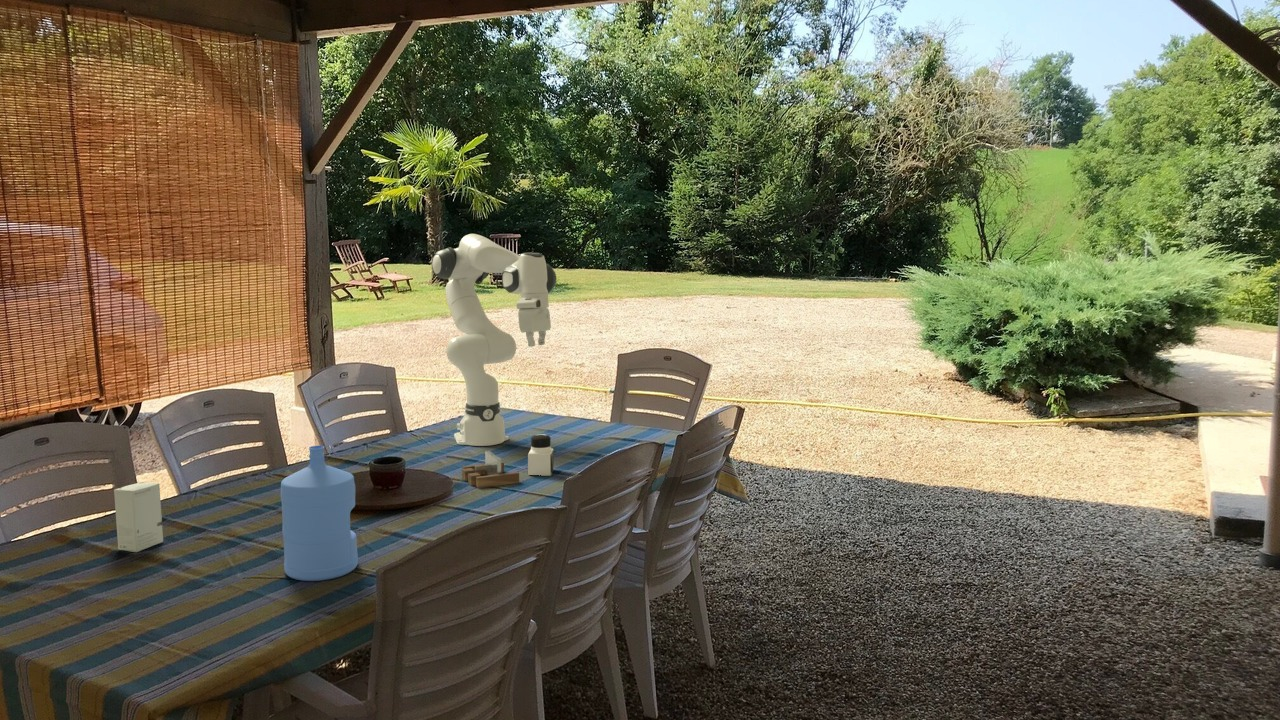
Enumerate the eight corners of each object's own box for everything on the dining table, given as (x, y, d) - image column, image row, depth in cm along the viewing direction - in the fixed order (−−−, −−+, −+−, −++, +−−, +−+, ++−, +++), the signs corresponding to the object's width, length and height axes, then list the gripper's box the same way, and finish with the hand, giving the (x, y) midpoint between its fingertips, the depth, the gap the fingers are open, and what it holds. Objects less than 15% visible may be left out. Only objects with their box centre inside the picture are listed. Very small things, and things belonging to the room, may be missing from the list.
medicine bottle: (551, 476, 282) (550, 438, 281) (528, 475, 283) (527, 438, 281) (553, 470, 289) (553, 433, 288) (531, 469, 290) (530, 432, 288)
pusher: (469, 474, 281) (469, 452, 280) (489, 472, 284) (488, 450, 283) (481, 484, 271) (481, 461, 270) (501, 481, 274) (501, 458, 273)
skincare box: (136, 553, 214) (132, 491, 212) (116, 550, 215) (111, 489, 213) (165, 541, 222) (160, 482, 219) (145, 538, 223) (141, 480, 221)
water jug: (316, 588, 194) (310, 459, 190) (269, 572, 202) (262, 449, 198) (373, 565, 207) (368, 445, 203) (326, 552, 215) (321, 436, 211)
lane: (459, 476, 281) (459, 466, 281) (502, 470, 288) (502, 461, 288) (474, 488, 268) (474, 478, 268) (519, 482, 275) (519, 473, 274)
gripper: (536, 303, 304) (538, 344, 305) (514, 303, 284) (516, 347, 285) (554, 302, 303) (556, 343, 303) (533, 302, 283) (535, 347, 284)
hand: (536, 345), depth 294 cm, fingers open, 8 cm apart
